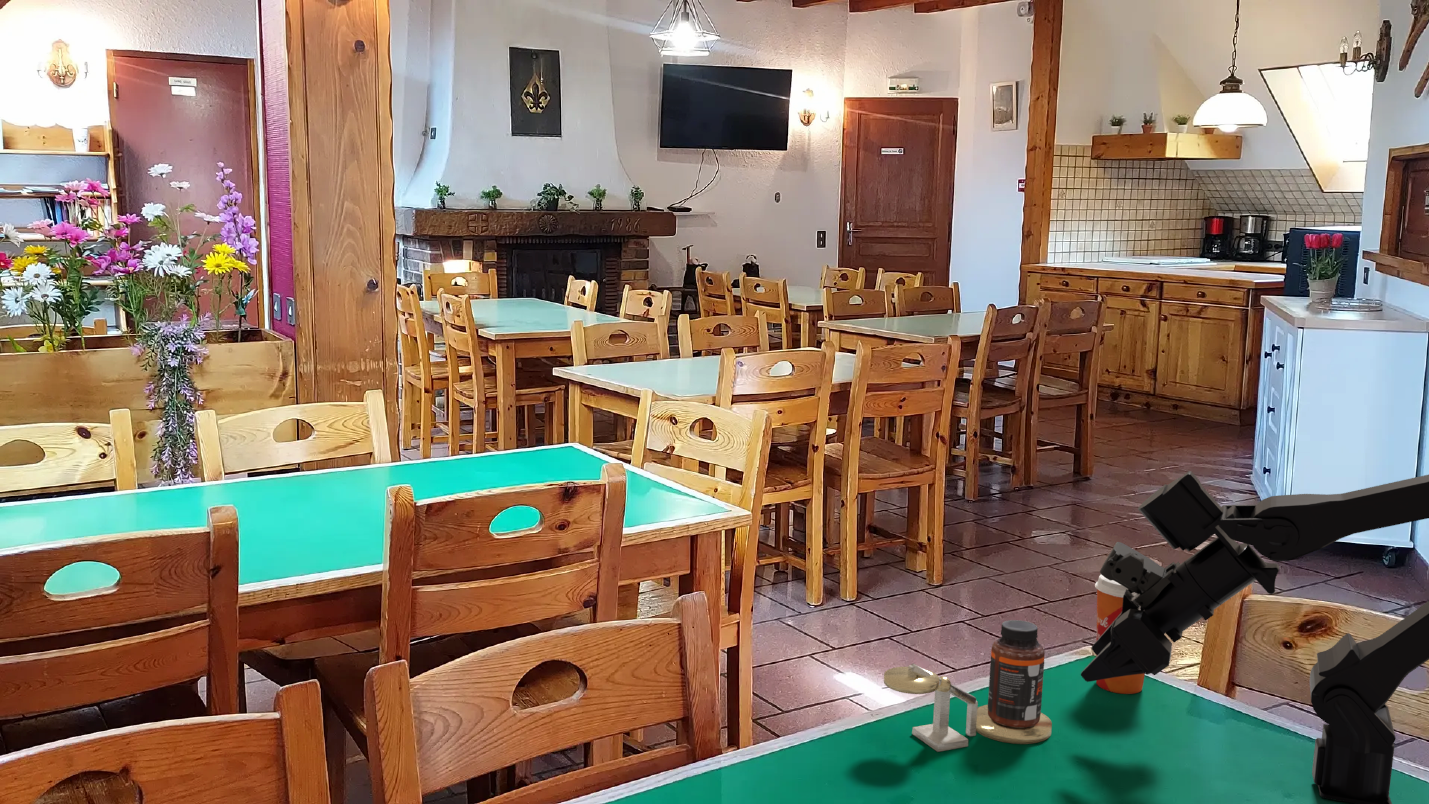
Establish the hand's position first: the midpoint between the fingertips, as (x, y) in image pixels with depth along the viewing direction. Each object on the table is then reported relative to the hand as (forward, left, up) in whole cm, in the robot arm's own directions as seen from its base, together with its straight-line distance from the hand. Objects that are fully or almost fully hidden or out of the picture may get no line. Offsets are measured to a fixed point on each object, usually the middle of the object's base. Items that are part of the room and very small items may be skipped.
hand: (1088, 664), depth 136 cm
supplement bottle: (+8, 0, -8) cm, 11 cm away
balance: (+12, +4, -9) cm, 16 cm away
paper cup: (-3, -19, -9) cm, 22 cm away
